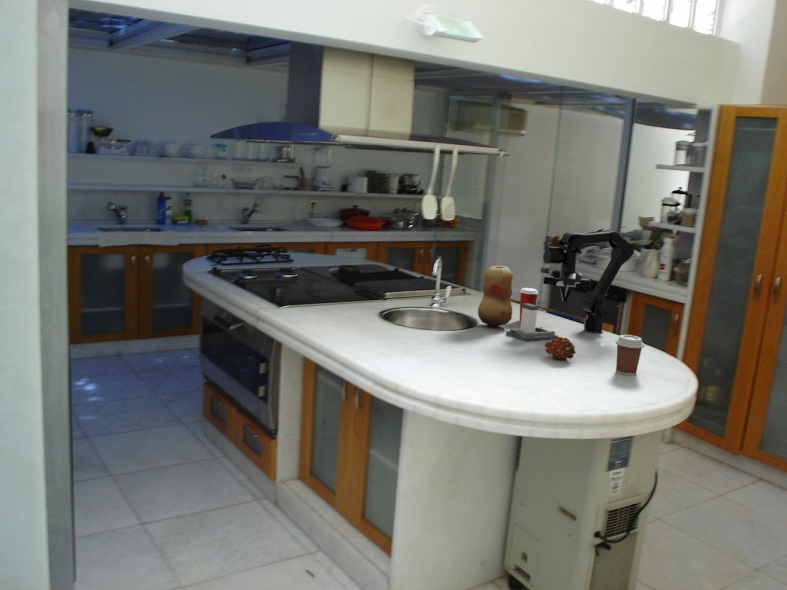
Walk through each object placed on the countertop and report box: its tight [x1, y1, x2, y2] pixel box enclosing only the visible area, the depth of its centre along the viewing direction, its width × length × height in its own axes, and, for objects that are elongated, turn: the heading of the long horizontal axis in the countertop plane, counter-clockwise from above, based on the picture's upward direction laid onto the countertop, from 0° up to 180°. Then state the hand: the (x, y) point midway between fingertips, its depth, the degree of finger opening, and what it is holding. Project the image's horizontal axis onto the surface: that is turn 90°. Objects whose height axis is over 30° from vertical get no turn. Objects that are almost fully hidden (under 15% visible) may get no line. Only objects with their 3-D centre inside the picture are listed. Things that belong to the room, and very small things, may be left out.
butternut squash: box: [477, 265, 514, 328], centre depth 293 cm, size 14×13×25 cm
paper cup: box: [519, 287, 539, 323], centre depth 308 cm, size 8×8×14 cm
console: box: [505, 326, 559, 343], centre depth 282 cm, size 16×12×2 cm
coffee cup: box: [615, 334, 645, 376], centre depth 240 cm, size 9×9×12 cm
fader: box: [517, 303, 539, 333], centre depth 280 cm, size 6×5×12 cm
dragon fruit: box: [544, 336, 576, 362], centre depth 252 cm, size 8×8×12 cm
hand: (564, 302), depth 293 cm, fingers closed
